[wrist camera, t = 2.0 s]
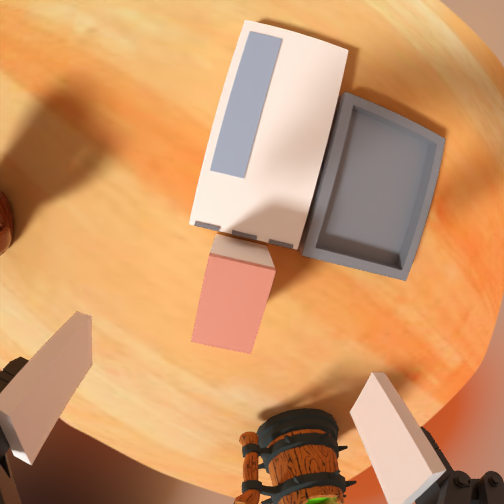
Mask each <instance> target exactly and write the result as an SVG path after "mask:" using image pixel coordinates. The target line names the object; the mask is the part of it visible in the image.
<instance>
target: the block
mask: <svg viewBox="0 0 504 504" xmlns="http://www.w3.org/2000/svg"><path fill="white" fill-rule="evenodd" d="M275 273H276V269H275V266H274V264H273V261H272V258H271V256H270V253H269V250H268V248H267V246H266V245H262V244H258V243H254V242H249V241H245V240H241V239H237V238H233V237H228V236H224V235H220V234H216V235H215V238H214V242H213V245H212V248H211V251H210V254H209V258H208V263H207V267H206V272H205V276H204V281H203V286H202V291H201V295H200V300H199V305H198V310H197V315H196V320H195V325H194V330H193V335H192V340H191V342H195V343H199V344H204V345H208V346H213V347H218V348H223V349H228V350H233V351H238V352H244V353H249V354H251V352H252V349H253V346H254V342H255V339H256V336H257V333H258V330H259V326H260V323H261V320H262V316H263V313H264V310H265V307H266V303H267V300H268V297H269V293H270V290H271V287H272V283H273V280H274V276H275Z"/></svg>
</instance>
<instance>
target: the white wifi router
mask: <svg viewBox="0 0 504 504" xmlns="http://www.w3.org/2000/svg"><path fill="white" fill-rule="evenodd" d="M348 51H349V50H347V49H344V48H341V47H339V46H336V45H333V44H331V43H328V42H325V41H322V40H319V39H316V38H313V37H310V36H307V35H303V34H300V33H297V32H293V31H290V30H286V29H282V28H279V27H275V26H271V25H267V24H262V23H258V22H253V21H248V20H245V22H244V25H243V28H242V31H241V34H240V37H239V40H238V43H237V46H236V49H235V52H234V55H233V58H232V61H231V64H230V68H229V71H228V74H227V77H226V81H225V84H224V87H223V91H222V94H221V98H220V101H219V105H218V108H217V112H216V115H215V119H214V122H213V126H212V130H211V134H210V137H209V141H208V145H207V149H206V153H205V157H204V161H203V165H202V169H201V173H200V177H199V181H198V186H197V190H196V194H195V199H194V203H193V208H192V212H191V217H190V222H189V224H191V225H194V226H198V227H202V228H207V229H211V230H215V231H221V232H225V233H229V234H232V235H236V236H241V237H245V238H249V239H253V240H259V241H263V242H267V243H270V244H274V245H278V246H282V247H287V248H291V249H296V250H297V249H298V246H299V242H300V239H301V236H302V232H303V229H304V225H305V222H306V218H307V215H308V211H309V208H310V204H311V201H312V197H313V193H314V190H315V186H316V182H317V179H318V175H319V171H320V167H321V164H322V160H323V156H324V152H325V148H326V144H327V141H328V137H329V133H330V129H331V125H332V121H333V116H334V112H335V108H336V104H337V100H338V96H339V91H340V87H341V83H342V78H343V74H344V69H345V65H346V60H347V56H348Z"/></svg>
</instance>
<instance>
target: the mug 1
mask: <svg viewBox="0 0 504 504" xmlns="http://www.w3.org/2000/svg"><path fill="white" fill-rule="evenodd" d="M12 236H13V216H12V210H11V207H10V205H9V203H8V200H7V199H6V197H5V195H4V194H3V193H2V192H1V191H0V256H1V255H2V254H3V253H4V252H5V251H6V250H7V249H8V247H9V245H10V243H11V240H12Z"/></svg>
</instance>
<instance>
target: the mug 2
mask: <svg viewBox="0 0 504 504" xmlns="http://www.w3.org/2000/svg"><path fill="white" fill-rule="evenodd" d="M338 429H339V428H338V426H337V423H336V421H335V420H334V418H333V417H332V415H330V414H328V413H326V412H324V411H322V410H318V409H307V408H303V409H297V410H290V411H286V412H283V413H281V414H279V415H276V416H274V417H271V418H270V419H269V420H267V421H266V422H265V423H264V424H262V425H261V426H260V427H259V429H258V431H257V433H255V432H245V433H243V434H242V435H241V436H240V440H239V442H240V443H241V445H242V446H243V447H242V453H243V457H245V460H244V464H243V478H244V482H242V493H243V494H242V495H240V496H238V497H237V498H236V499H235V501H234V504H258V503H259V498H260V494H263V495H267V496H271V498H269V499H267V500H265V501H262V502H261V503H262V504H344V500H343V497H346V495H343V493H344V492H345V491H346V487H348V486H350V485H353V484H355V483H356V481H345V477H343V476H341V475H340V474H339V472H340V470H339V468H338V462H337V459H338V457H339V451H342V450H344V449H347V448H348V447H347V446H338V443H337V437H338ZM259 456H261V458H262V459H263V463H262V464H260V465H258V457H259ZM262 468H265V469H266V471H267V473H269V474H270V476H271V480H272V484H273V487H271V486H264V485H262V482H260V481H258V469H262Z"/></svg>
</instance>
